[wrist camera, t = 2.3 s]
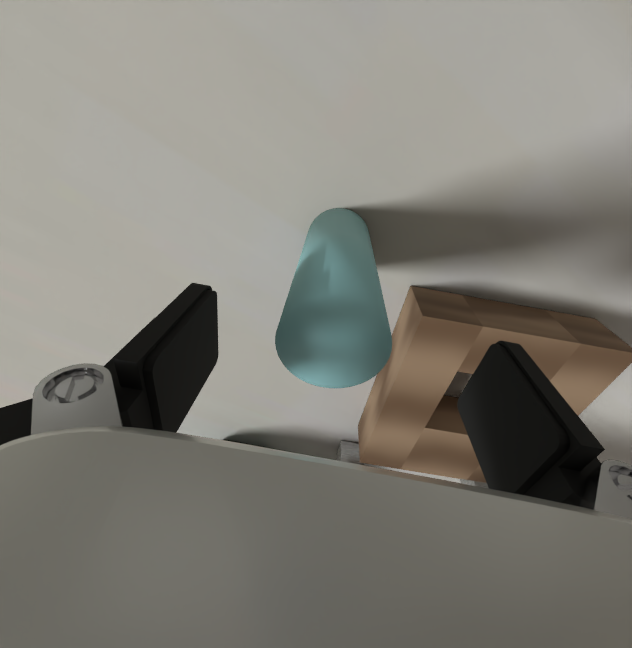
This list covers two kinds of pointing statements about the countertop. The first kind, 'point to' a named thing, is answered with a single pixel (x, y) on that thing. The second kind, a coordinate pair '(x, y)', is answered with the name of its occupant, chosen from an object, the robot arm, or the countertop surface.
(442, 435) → the socket
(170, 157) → the countertop surface
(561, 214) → the countertop surface
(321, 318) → the peg
